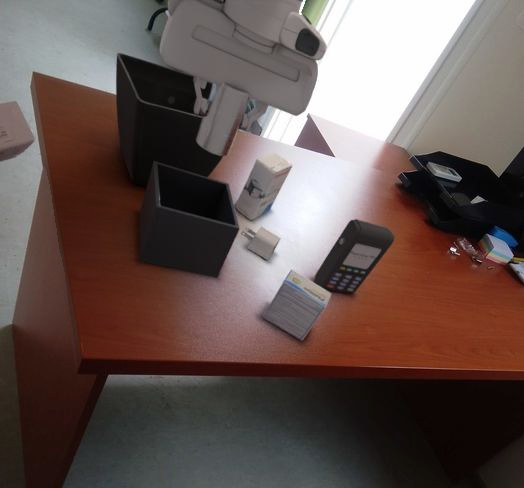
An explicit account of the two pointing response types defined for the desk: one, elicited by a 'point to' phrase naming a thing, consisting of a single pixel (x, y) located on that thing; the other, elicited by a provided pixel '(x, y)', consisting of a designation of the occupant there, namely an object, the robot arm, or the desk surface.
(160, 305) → the desk surface
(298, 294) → the medicine box
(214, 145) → the drink can
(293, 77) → the robot arm
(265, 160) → the ink box
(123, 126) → the flower pot
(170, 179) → the trash bin
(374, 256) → the card reader
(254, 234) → the usb wall charger
